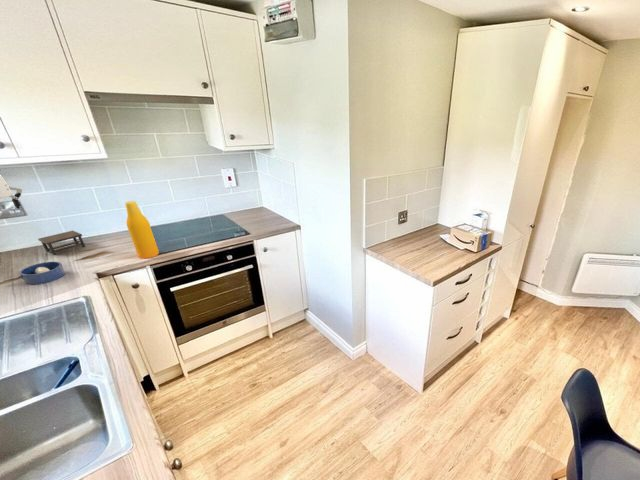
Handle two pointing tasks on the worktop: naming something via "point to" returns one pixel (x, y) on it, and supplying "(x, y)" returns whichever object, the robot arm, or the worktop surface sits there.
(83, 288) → the worktop surface
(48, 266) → the bowl
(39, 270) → the potato
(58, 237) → the stand
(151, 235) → the beer bottle
